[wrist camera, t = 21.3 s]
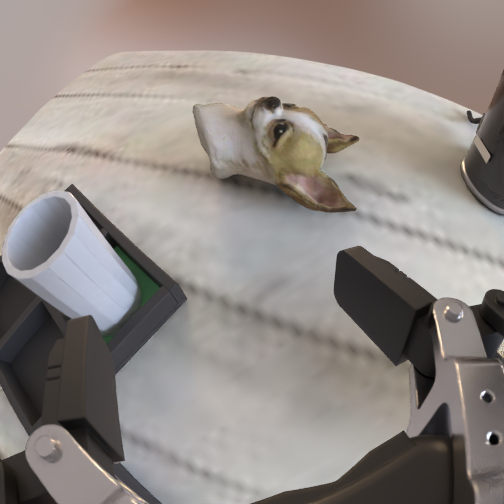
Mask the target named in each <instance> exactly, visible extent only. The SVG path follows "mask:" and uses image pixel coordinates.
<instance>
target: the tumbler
mask: <svg viewBox="0 0 504 504" xmlns="http://www.w3.org/2000/svg"><path fill="white" fill-rule="evenodd" d="M2 262H3V265H4V267H5V269H6V272H7V273H8V274H9V275H10V276H11V277H12V278H14V279H15V280H16V281H18V282H19V283H20V284H21V285H23V286H24V287H25V288H27V289H28V290H29V291H31V292H32V293H33V294H35V295H36V296H38V297H39V298H40V299H42V300H43V301H45V302H46V303H47V304H49V305H50V306H52V307H53V308H55V309H56V310H57V311H59V312H60V313H62V314H63V315H65V316H66V317H68V318H69V319H74V318H78V317H82V316H87V315H92V316H93V318H94V320H95V322H96V324H97V326H98V328H99V330H100V333H101V335H102V336H113V335H115V334H116V333H117V332H118V331H119V330H120V329H121V328H122V327H123V326H124V325H125V324H126V323H127V322H128V321H129V320H130V319H131V317H132V316H133V315H134V314H135V313H136V312H137V311H138V310H139V309H140V308H141V304H142V290H141V287H140V284H139V282H138V280H137V279H136V277H135V276H134V274H133V273H132V272H131V271H130V270H129V268H128V267H127V266H126V265H125V263H124V262H123V261H122V260H121V258H120V257H119V256H118V255H117V253H116V252H115V251H114V249H113V248H112V247H111V246H110V244H109V243H108V242H107V240H106V239H105V238H104V236H103V235H102V234H101V232H100V231H99V230H98V228H97V227H96V226H95V224H94V223H93V222H92V220H91V219H90V218H89V216H88V215H87V213H86V212H85V211H84V209H83V208H82V206H81V205H80V204H79V202H78V201H77V200H76V198H75V197H74V196H73V195H72V194H71V193H69V192H66V191H61V190H55V191H51V192H47V193H44V194H42V195H40V196H39V197H37V198H36V199H34V200H32V201H31V202H30V203H28V204H27V205H26V206H25V207H24V208H23V209H22V210H21V211H20V212H19V213H18V215H17V216H16V217H15V219H14V221H13V222H12V224H11V225H10V227H9V229H8V231H7V234H6V237H5V240H4V243H3V247H2Z"/></svg>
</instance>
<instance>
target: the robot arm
mask: <svg viewBox="0 0 504 504" xmlns="http://www.w3.org/2000/svg"><path fill="white" fill-rule="evenodd" d="M467 116H468V119H469V121H470V122H471V123H474V124H478V123H479V125H478V128H477V131H476V136H475V138H474V140H473V142H472V144H471V146H470V148H469V150H468V152H467V154H466V155H465V156H464V158H463V160H462V162H461V173H462V176H463V178H464V181H465V182H466V184H467V186H468V187H469V189H470V190H471V192H472V193H473V194H474V195H475V196H476V197H477V198H478V199H479V200H480V201H481V202H482V203H483V204H484V205H485V206H487V207H488V208H489V209H491V210H493V211H494V212H496V213H498V214H501V215H504V70H503V73H502V76H501V79H500V81H499V84H498V86H497V89H496V91H495V94H494V96H493V98H492V101H491V103H490V106H489V108H488V110H487V113H486V114H485V113H484V114H483V116H482V117H481V118H475V119H474V118H473V117H472V113H471V111H467ZM334 295H335V299H336V301H337V303H338V304H339V306H340V307H341V308H342V309H343V310H344V311H345V312H346V313H347V314H348V315H349V316H350V317H351V318H352V319H353V321H354V322H355V323H356V324H357V325H358V326H359V327H360V328H361V329H362V330H363V331H364V332H365V333H366V334H367V335H368V337H369V338H370V339H371V340H372V341H373V342H374V343H375V344H376V345H377V346H378V347H379V348H380V349H381V351H382V352H383V353H384V354H385V355H386V356H387V357H388V358H389V359H390V360H391V361H392V363H393V364H394V365H395V366H398V365H400V364H401V363H403V362H405V361H406V360H409V361H410V362H411V365H410V368H409V379H410V404H411V416H410V422H409V425H408V428H407V432H406V433H405V432H404V431H402V432H401V433H399V434H398V435H396V436H394V437H393V438H391V439H390V440H388V441H386V442H385V443H383V444H381V445H380V446H378V447H376V448H375V449H373V450H371V451H370V452H369V453H368V454H366V455H365V456H364V457H363V458H362V459H361V460H360V461H359V462H358V463H357V464H356V465H355V466H353V467H352V468H351V469H350V470H349V471H348V472H347V473H345V474H344V475H343V476H342V477H341V478H340V479H338V480H337V481H335V482H332V483H328V484H324V485H319V486H314V487H309V488H304V489H298V490H292V491H286V492H282V493H280V494H277V495H274V496H272V497H269V498H266V499H263V500H260V501H257V502H254V503H251V504H504V358H503V357H502V356H501V355H500V354H499V353H498V352H497V350H498V348H499V347H500V345H501V343H502V341H503V339H504V291H501V290H497V289H492V290H489V291H487V292H486V294H485V297H484V299H483V302H482V304H479V305H474V306H468V305H466V304H465V303H464V302H462V301H460V300H458V299H454V298H441V299H439V300H437V299H436V298H435V297H434V296H432V295H431V294H430V293H429V292H427V291H426V290H425V289H424V288H422V287H421V286H420V285H419V284H417V283H416V282H415V281H413V280H412V279H411V278H410V277H409V278H408V277H407V275H406V274H404V273H403V272H402V271H399V269H398V268H396V267H395V266H394V265H392V264H391V263H390V262H388V261H386V260H384V259H381V258H379V257H376V256H374V255H372V254H371V253H370V252H368V251H367V250H366V249H364V248H363V247H361V246H356V247H353V248H349V249H345V250H342V251H340V252H339V253H338V254H337V260H336V271H335V281H334ZM47 368H48V370H47V372H46V382H45V388H44V398H43V409H42V423H41V427H39V428H38V429H36V430H35V431H34V432H33V433H32V434H31V436H30V437H29V439H28V441H27V444H26V448H25V451H23V452H20V453H18V454H16V455H13V456H11V457H9V458H6V459H4V460H1V459H0V504H148V503H147V502H146V501H144V500H143V499H142V498H141V497H140V496H138V495H137V494H136V493H135V492H134V491H132V490H131V489H130V488H129V487H128V486H127V485H125V484H124V483H123V482H122V481H121V480H120V479H119V478H118V477H117V476H115V472H114V465H113V462H119V461H125V458H124V452H123V445H122V438H121V431H120V423H119V415H118V405H117V395H116V382H115V369H114V363H113V359H112V356H111V353H110V351H109V349H108V347H107V345H106V343H105V341H104V339H103V337H102V335H101V333H100V330H99V328H98V326H97V324H96V322H95V320H94V318H93V316H92V315H87V316H82V317H78V318H74V319H69V320H68V321H67V325H66V331H65V338H63V339H58V340H57V341H56V342H55V344H54V346H53V348H52V349H51V351H50V353H49V358H48V365H47Z"/></svg>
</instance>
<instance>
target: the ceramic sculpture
mask: <svg viewBox="0 0 504 504" xmlns="http://www.w3.org/2000/svg"><path fill="white" fill-rule="evenodd" d="M193 114H194V118H195V124H196V128H197V132H198V136H199V139H200V141H201V145H202V147H203V148H204V150H205V151H206V153H207V154H208V156H209V158H210V162H211V171H212V173H213V175H214V176H216V177H217V178H220V179H223V178H228V177H229V176H231V175H235V174H240V175H244V176H247V177H251V178H255V179H259V180H262V181H265V182H267V183H271V184H274V185H277V187H278V188H280V189H281V190H282V191H284V192H285V193H286V194H287V195H288V196H289V197H291V198H292V199H293V200H295V201H296V202H297V203H299V204H301V205H302V206H304V207H307V208H309V209H312V210H316V211H323V212H348V211H355V210H356V207H355V206H354V205H353V204H351V203H350V202H349V201H348V200H347V199H346V198H345V196H344V195H343V193H342V192H341V191H340V189H339V187H338V185H337V184H336V183H335V181H334V180H333V179H331V178H330V177H328V176H327V175H326V174H325V173H323V172H321V171H320V170H321V168H322V166H323V164H324V162H325V159H326V154H327V153H336V152H339V151H341V150H343V149H345V148H346V147H348V146H350V145H352V144H354V143H356V142H358V141H359V137H357V136H353V135H343V134H340V133H339V132H337V131H336V130H334V129H332V128H328V127H327V125H326V124H323V122H322V121H321V120H320V119H319V118H318V116H317V115H316V114H314V113H313V112H312V111H311V110H309V109H307V108H299V107H297V106H296V105H295V104H285V103H283V104H282V103H281V102H280V100H279V99H278V98H277V97H262V98H260V99H259V100H254V101H252V102H251V103H250V104H249V105H248V106H247V108H246V109H245V110H244V109H239V108H237V107H235V106H231V105H226V104H222V103H215V104H207V105H202V104H195V105H194V106H193Z"/></svg>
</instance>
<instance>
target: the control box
mask: <svg viewBox="0 0 504 504" xmlns="http://www.w3.org/2000/svg"><path fill="white" fill-rule="evenodd" d="M114 472H115V476H117V477H118V478H119V479H120V480H121V481H122V482H123V483H124V484H125V485H127V486H128V487H129V488H130V489H131V490H132V491H134V492H135V493H136V494H137V495H138V496H140V497H141V498H142V499H143V500H144V501H146V502H147V503H148V504H161V503H160V502H159V501H158V500H157V499H156V498H155V497H154V496H153V495H151V494H150V493H149V492H148V491H147V490H146V489H145V488H144V487H143V486H142V485H141V484H140V483H139V482H138V481H137V480H136V479H135V478H134V477H133V476H132V475H131V474H130V473H129V472H128V471H127V470H126V469H125V468H124V467H123V466H122V465H121V464H120V463H119V464H114Z"/></svg>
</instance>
